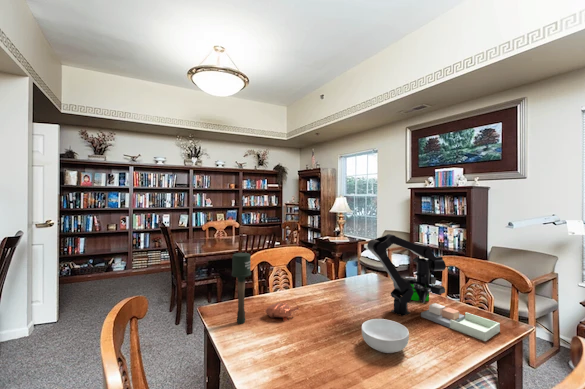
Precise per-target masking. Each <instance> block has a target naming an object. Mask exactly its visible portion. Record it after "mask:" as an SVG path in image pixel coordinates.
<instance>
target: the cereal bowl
mask: <svg viewBox="0 0 585 389" xmlns="http://www.w3.org/2000/svg"><path fill="white" fill-rule="evenodd" d="M361 336H362V338H363V341H364V342H365V343H366V344H367V345H368V346H369V347H370V348H372V349H373V350H376V351H378V352H381V353H384V354H385V353H386V354H393V353H397V352H400V351H402V350H404V349H406V347H407V345H408V343H409V339H410V333H409V329H408V327H406V326H405V325H403V324H401V323H399V322H397V321H394V320H390V319H386V318H385V319H384V318H373V319H368V320H366V321H364V322H363V323H362V324H361Z"/></svg>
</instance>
